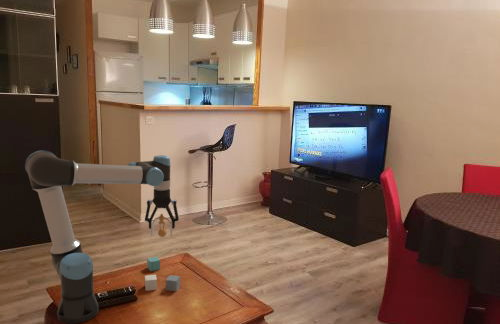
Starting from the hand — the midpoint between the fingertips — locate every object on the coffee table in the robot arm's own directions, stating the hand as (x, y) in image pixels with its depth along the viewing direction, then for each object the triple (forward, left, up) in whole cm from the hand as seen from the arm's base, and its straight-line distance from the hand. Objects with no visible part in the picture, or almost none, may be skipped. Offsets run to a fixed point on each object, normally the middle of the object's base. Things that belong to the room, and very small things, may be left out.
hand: (161, 234), depth 189 cm
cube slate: (+6, -12, -21) cm, 25 cm away
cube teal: (-5, +9, -21) cm, 24 cm away
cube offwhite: (-4, -11, -21) cm, 24 cm away
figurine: (0, 0, -1) cm, 1 cm away
